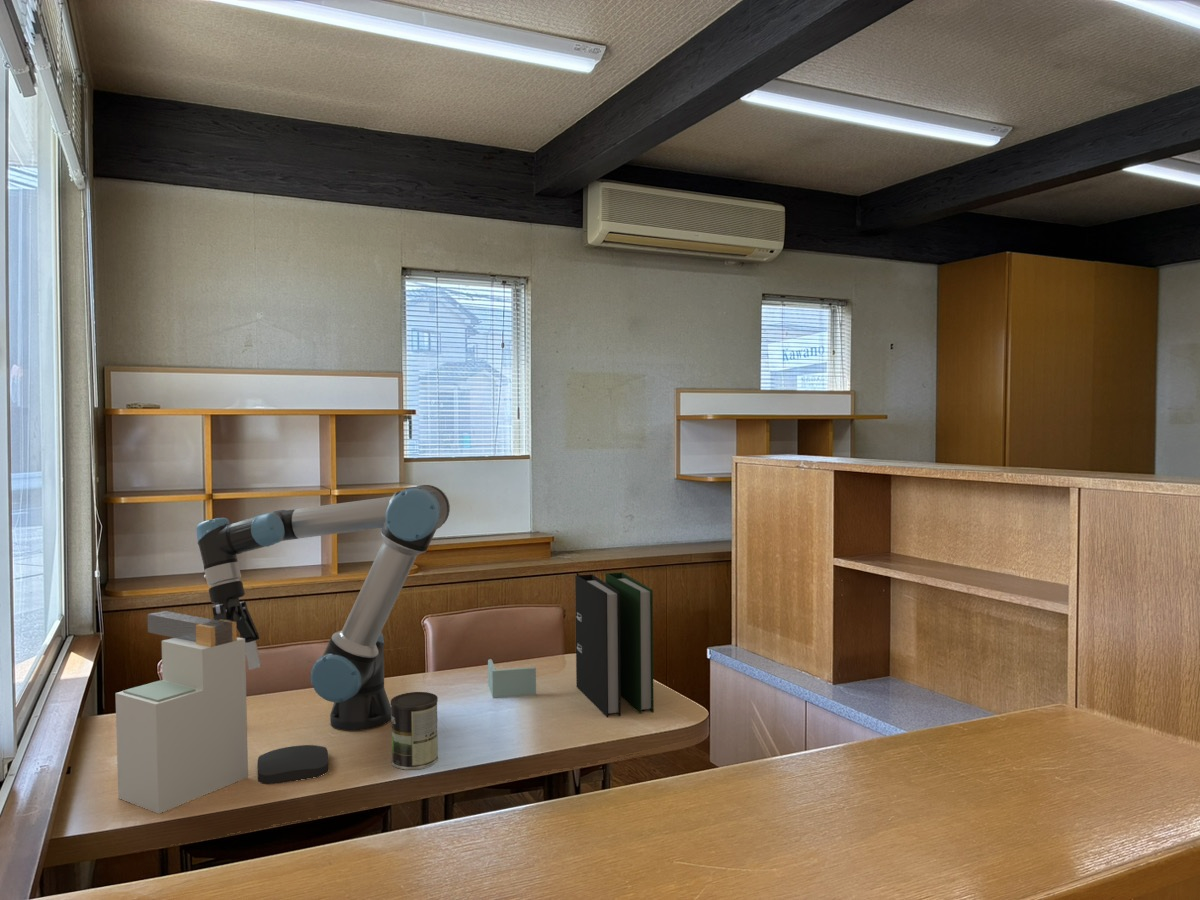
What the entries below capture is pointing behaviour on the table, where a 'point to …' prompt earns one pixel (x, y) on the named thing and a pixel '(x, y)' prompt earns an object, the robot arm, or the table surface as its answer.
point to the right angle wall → (511, 681)
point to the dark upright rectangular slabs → (614, 642)
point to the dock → (184, 727)
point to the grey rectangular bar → (192, 628)
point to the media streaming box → (292, 764)
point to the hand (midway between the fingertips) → (244, 672)
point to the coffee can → (414, 730)
